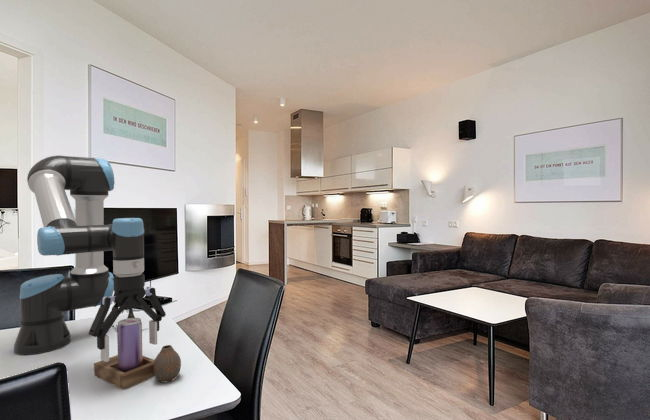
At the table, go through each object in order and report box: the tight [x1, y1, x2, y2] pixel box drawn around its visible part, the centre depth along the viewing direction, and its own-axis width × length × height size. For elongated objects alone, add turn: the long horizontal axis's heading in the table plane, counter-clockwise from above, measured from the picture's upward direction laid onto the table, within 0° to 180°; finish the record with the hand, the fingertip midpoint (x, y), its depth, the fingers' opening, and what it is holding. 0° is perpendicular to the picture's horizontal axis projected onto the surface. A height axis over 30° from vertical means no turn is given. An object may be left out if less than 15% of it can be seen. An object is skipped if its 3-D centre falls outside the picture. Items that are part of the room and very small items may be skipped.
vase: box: [153, 344, 182, 383], centre depth 99 cm, size 7×7×9 cm
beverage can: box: [116, 317, 143, 373], centre depth 100 cm, size 6×6×15 cm
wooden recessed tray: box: [93, 354, 156, 390], centre depth 101 cm, size 15×10×4 cm, turn 58°
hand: (130, 351), depth 100 cm, fingers open, 13 cm apart
